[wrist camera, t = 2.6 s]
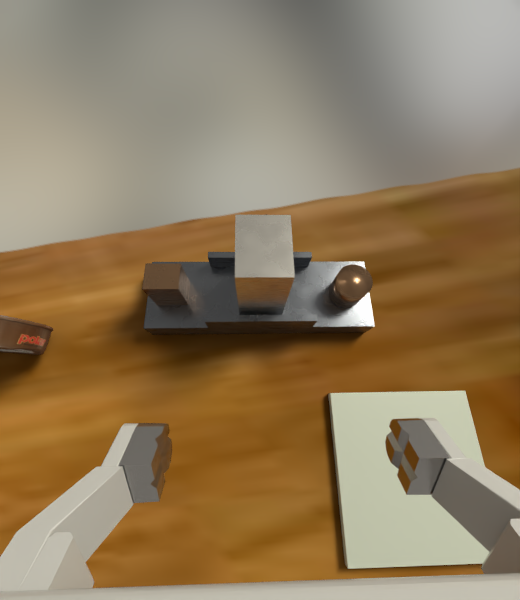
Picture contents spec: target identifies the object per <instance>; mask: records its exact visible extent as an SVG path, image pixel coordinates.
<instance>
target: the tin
mask: <svg viewBox="0 0 520 600" xmlns="http://www.w3.org/2000/svg"><path fill="white" fill-rule="evenodd" d="M52 331H53V328H51V327H49V326H46V325H43V324H39V323H35V322H31V321H26V320H22V319H17V318H12V317H8V316H2V315H0V352H8V353H20V354H33V355H41V354H43V353H44V351H45V349H46V347H47V344H48V341H49V337H50V334H51V332H52Z"/></svg>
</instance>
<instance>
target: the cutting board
mask: <svg viewBox="0 0 520 600" xmlns="http://www.w3.org/2000/svg"><path fill="white" fill-rule="evenodd" d="M328 396H329V406H330V417H331V427H332V437H333V447H334V458H335V468H336V478H337V488H338V499H339V509H340V519H341V529H342V540H343V550H344V560H345V565H346V566H347V568H348V569H354V568H380V567H406V566H431V565H457V564H483V562H484V560H485V559H486V557H487V556H488V554H489V551H488V550H487V549H486V548H485V547H484V546H483V545H482V544H480V543H479V542H478V541H477V540H476V539H475V538H474V537H473V536H472V535H471V534H470V533H469V532H468V531H467V530H466V529H465V528H464V527H463V526H462V525H461V524H460V523H459V522H458V521H457V520H456V519H454V518H453V517H452V516H451V515H450V514H449V513H448V512H447V511H446V510H445V509H444V508H443V507H442V506H441V505H440V504H439V503H438V502H437V501H436V500H435V499H434V498H433V497H432V495H406V493H405V491H404V489H403V487H402V485H401V482H400V480H399V478H398V476H397V473H398V468H396V467H395V466H394V465H393V464H392V463H391V462H390V460H389V457H388V455H387V451H386V444H385V441H386V436H387V435H388V434H389V433H390V432H391V429H390V427H389V425H390V422H391V420H392V419H406V418H419V419H420V418H435V419H437V420H438V421H439V423H440V424H441V425H442V427H443V428H444V429H445V430H446V432H447V433H448V434H449V436H450V437H451V438H452V440H453V441H454V442H455V444H456V445H457V446H458V448H459V449H460V450H461V451H462V453H463V454H464V455H465V457H466V458H471V459H473V460H474V461H476V462H477V463H479V464H481V465H482V466H484V467H485V465H484V462H483V458H482V454H481V450H480V446H479V442H478V439H477V435H476V431H475V427H474V423H473V419H472V416H471V412H470V408H469V404H468V400H467V396H466V392H465V391H426V392H369V393H328Z"/></svg>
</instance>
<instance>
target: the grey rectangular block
mask: <svg viewBox="0 0 520 600" xmlns="http://www.w3.org/2000/svg"><path fill="white" fill-rule="evenodd" d="M294 278H295V273H294V258H293V244H292V229H291V215H236V226H235V284H236V291H237V299H238V307H239V315H282V313H283V310H284V308H285V305H286V302H287V299H288V296H289V293H290V290H291V287H292V284H293V281H294Z"/></svg>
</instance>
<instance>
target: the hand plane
mask: <svg viewBox="0 0 520 600" xmlns="http://www.w3.org/2000/svg"><path fill="white" fill-rule="evenodd" d="M293 258H294V273H295V278H294V281H293V284H292V287H291V290H290V293H289V296H288V299H287V302H286V305H285V308H284V310H283V313H282V315H239V307H238V299H237V291H236V284H235V252H208V259H209V262H152V264H146V266H145V273H144V280H143V287H142V290H143V291H144V292H145V293H146V294H147V295H148V299H147V307H146V314H145V322H144V329H145V330H147V331H148V332H149V333H151V334H152V335H170V334H268V333H365V332H366V331H368V330H370V329H371V328H373V327H374V326H375V325H374V319H373V313H372V307H371V301H370V295H369V291H370V290H371V288H372V283H373V282H372V277H371V275H370V273H369V272H368V271H367V270H366V269H365V265H364V262H310V260H311V258H312V256H311V252H293Z"/></svg>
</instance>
